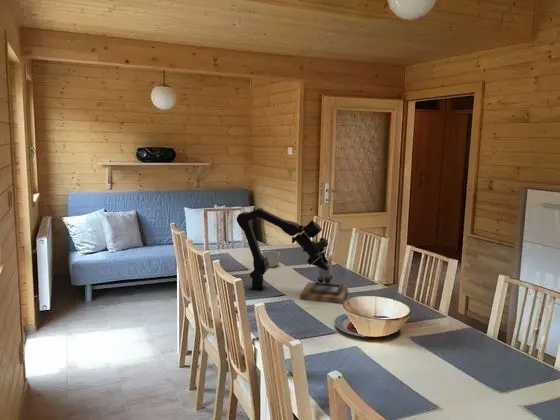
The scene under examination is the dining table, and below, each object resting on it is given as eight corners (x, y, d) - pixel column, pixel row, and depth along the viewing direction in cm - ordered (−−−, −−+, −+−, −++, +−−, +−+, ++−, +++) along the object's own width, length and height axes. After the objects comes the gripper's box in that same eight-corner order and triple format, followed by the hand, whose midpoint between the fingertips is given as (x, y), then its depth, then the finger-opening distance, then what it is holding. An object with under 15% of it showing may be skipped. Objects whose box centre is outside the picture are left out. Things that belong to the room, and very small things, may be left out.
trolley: (317, 282, 228) (318, 257, 226) (319, 278, 234) (320, 254, 232) (330, 283, 227) (331, 258, 225) (332, 279, 233) (333, 255, 231)
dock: (300, 299, 224) (300, 291, 224) (308, 286, 243) (308, 279, 243) (342, 303, 219) (342, 295, 219) (347, 290, 238) (347, 282, 238)
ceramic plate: (400, 345, 176) (401, 337, 176) (331, 338, 181) (331, 331, 181) (398, 320, 201) (398, 313, 201) (336, 314, 206) (337, 307, 206)
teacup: (280, 264, 286) (280, 251, 285) (278, 269, 276) (278, 255, 274) (257, 263, 288) (257, 250, 286) (254, 267, 277) (255, 254, 276)
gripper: (315, 237, 219) (338, 262, 218) (321, 229, 237) (342, 253, 236) (297, 252, 222) (320, 277, 221) (305, 244, 240) (326, 267, 239)
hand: (328, 268), depth 229 cm, fingers closed on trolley, 6 cm apart
